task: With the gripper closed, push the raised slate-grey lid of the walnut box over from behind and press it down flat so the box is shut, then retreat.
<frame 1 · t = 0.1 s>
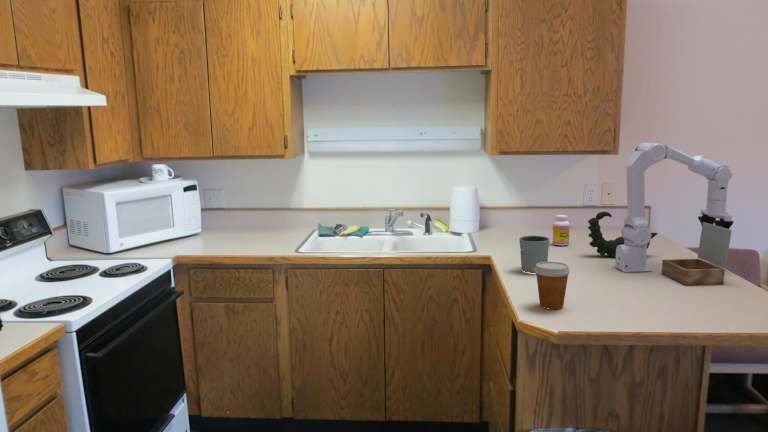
hand: (713, 238, 187), 10 cm above the worktop, fingers open, 7 cm apart
lid: (714, 244, 172), point 11 cm above the worktop, hinge at 95.0°
toy figurine: (621, 257, 207), on the worktop
supplement bottle: (560, 245, 229), on the worktop
box: (691, 278, 174), on the worktop
grey cup: (533, 272, 189), on the worktop
disposable coffee cup: (551, 307, 152), on the worktop
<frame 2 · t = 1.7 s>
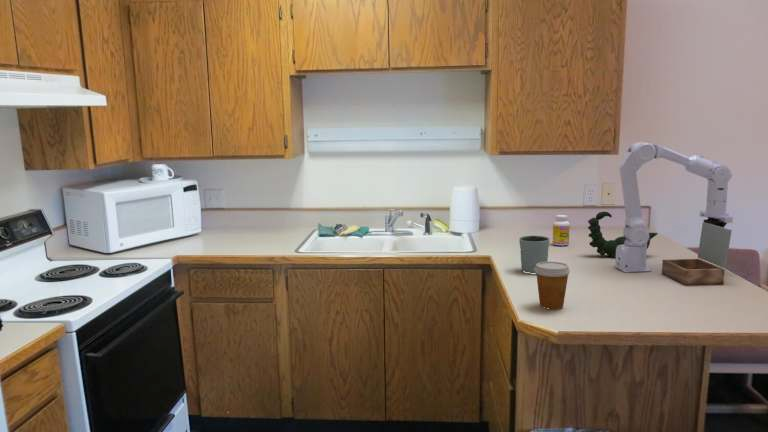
hand: (713, 240, 182), 10 cm above the worktop, fingers closed
nothing on the worktop moved.
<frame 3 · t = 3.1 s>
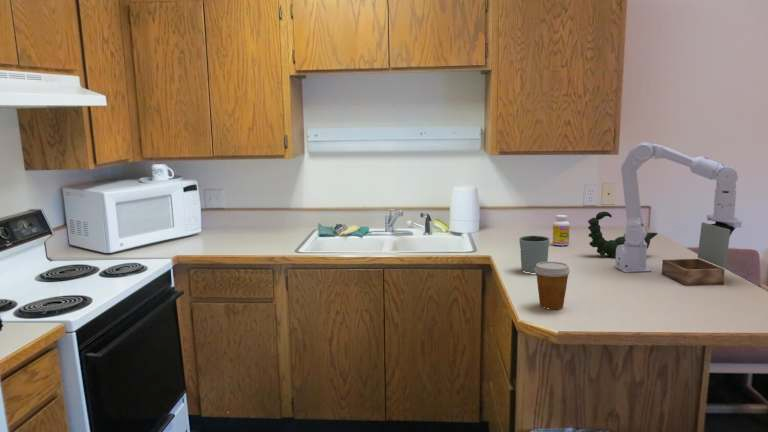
hand: (721, 245, 173), 10 cm above the worktop, fingers closed, pressing on lid
lid: (713, 244, 172), point 11 cm above the worktop, hinge at 93.2°, touching gripper
everything else where it was.
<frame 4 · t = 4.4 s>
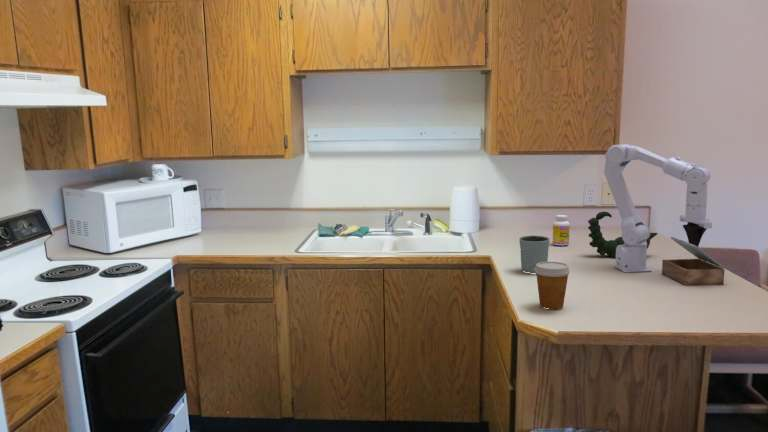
hand: (693, 246, 173), 10 cm above the worktop, fingers closed, pressing on lid
lid: (696, 251, 173), point 9 cm above the worktop, hinge at 36.8°, touching gripper
everything else where it was.
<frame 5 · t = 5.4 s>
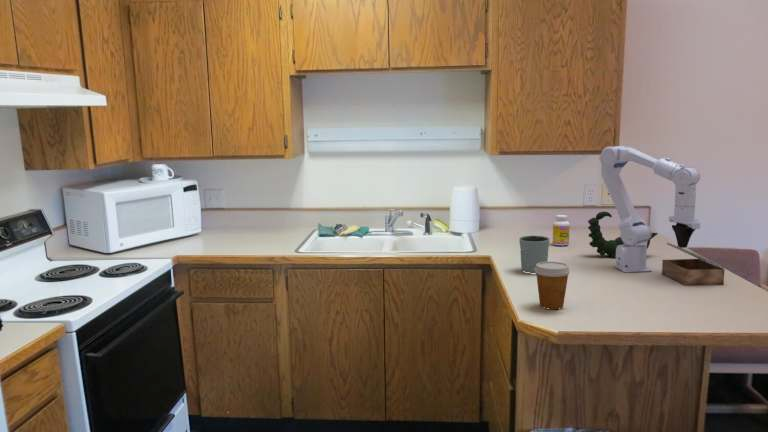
hand: (682, 247, 173), 10 cm above the worktop, fingers closed, pressing on lid
lid: (694, 255, 173), point 8 cm above the worktop, hinge at 25.6°, touching gripper
everything else where it was.
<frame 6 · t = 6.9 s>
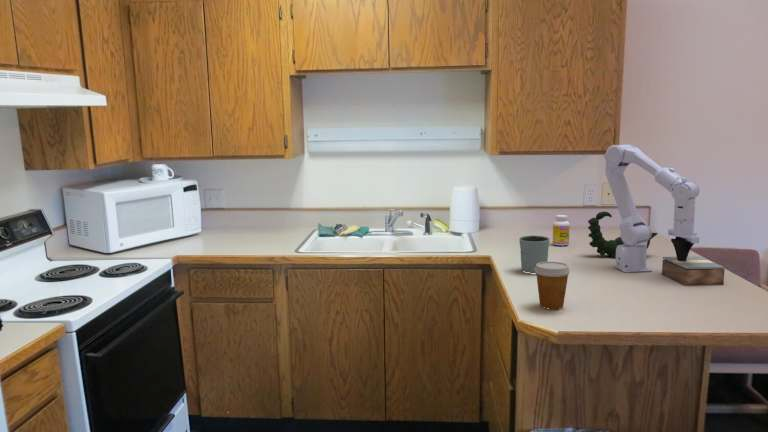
hand: (681, 260, 174), 6 cm above the worktop, fingers closed, pressing on lid
lid: (692, 262, 173), point 6 cm above the worktop, hinge at 1.6°, touching gripper
everything else where it was.
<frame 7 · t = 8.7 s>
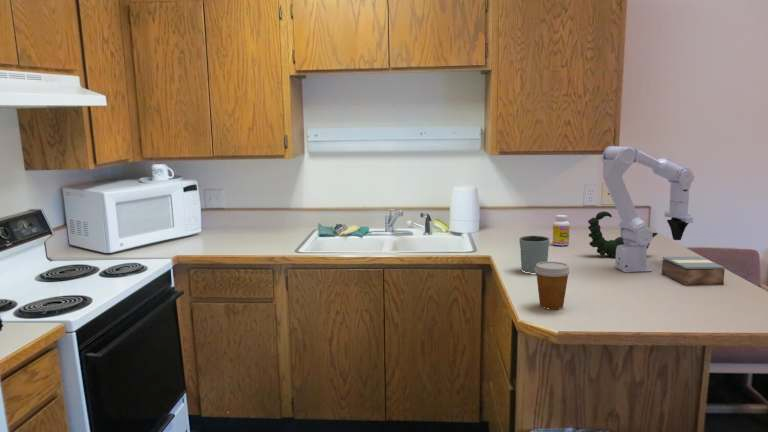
hand: (676, 239, 189), 9 cm above the worktop, fingers closed
lid: (692, 262, 173), point 6 cm above the worktop, hinge at 1.6°
everything else where it was.
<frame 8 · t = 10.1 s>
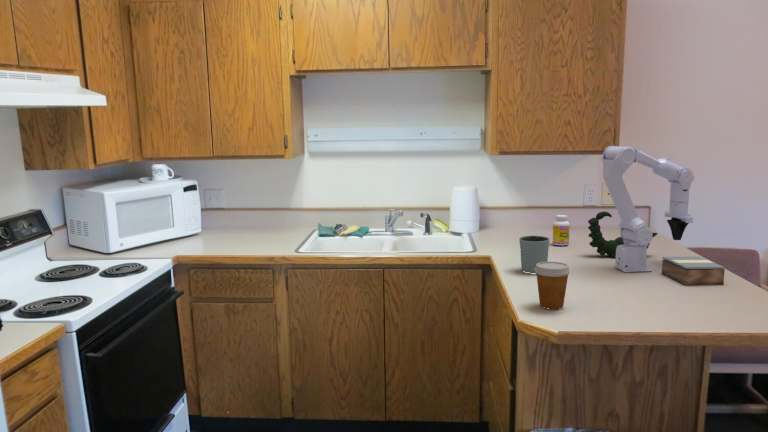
hand: (676, 239, 189), 9 cm above the worktop, fingers closed
nothing on the worktop moved.
at the end: lid at +2° (first picture: +95°) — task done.
